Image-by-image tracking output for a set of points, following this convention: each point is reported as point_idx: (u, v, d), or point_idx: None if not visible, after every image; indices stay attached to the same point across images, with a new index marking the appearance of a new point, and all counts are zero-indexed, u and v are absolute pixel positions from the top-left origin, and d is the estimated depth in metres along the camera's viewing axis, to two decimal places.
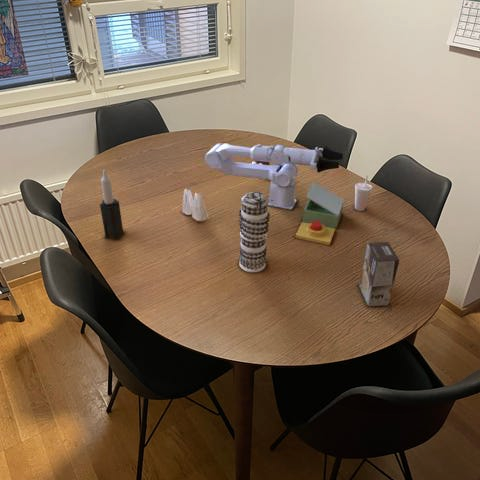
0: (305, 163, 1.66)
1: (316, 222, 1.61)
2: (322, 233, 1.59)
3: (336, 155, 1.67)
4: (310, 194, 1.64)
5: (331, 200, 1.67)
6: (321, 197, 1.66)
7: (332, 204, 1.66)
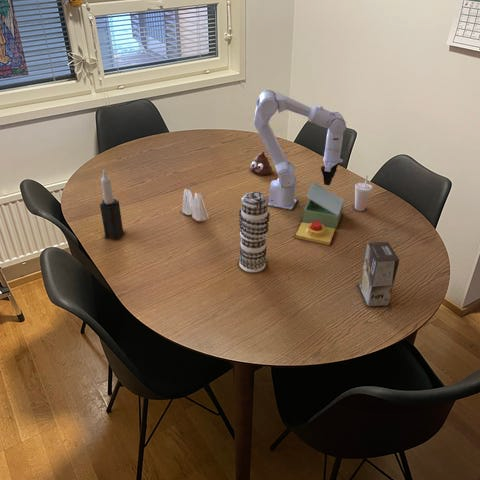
0: (328, 153, 1.66)
1: (316, 222, 1.61)
2: (322, 233, 1.59)
3: None
4: (310, 194, 1.64)
5: (331, 200, 1.67)
6: (321, 197, 1.66)
7: (332, 204, 1.66)
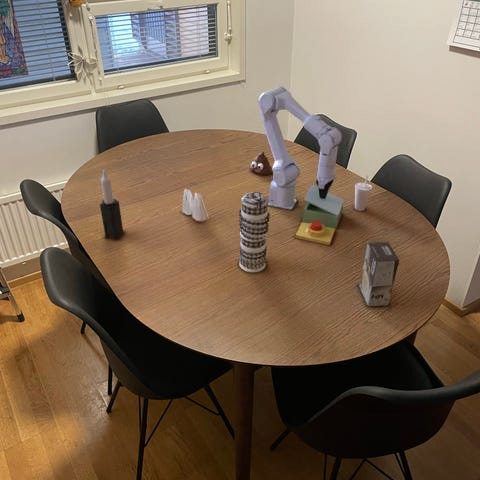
0: (321, 169, 1.59)
1: (316, 222, 1.61)
2: (322, 233, 1.59)
3: None
4: (308, 197, 1.65)
5: (330, 201, 1.68)
6: (320, 199, 1.67)
7: (331, 205, 1.66)
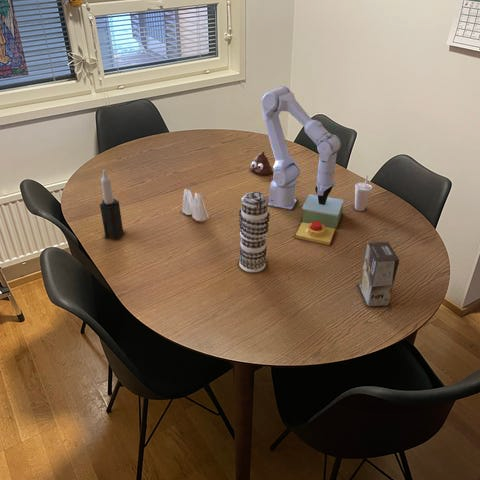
0: (320, 176, 1.61)
1: (316, 222, 1.61)
2: (322, 233, 1.59)
3: None
4: (305, 205, 1.67)
5: (329, 204, 1.69)
6: (318, 204, 1.68)
7: (330, 207, 1.67)
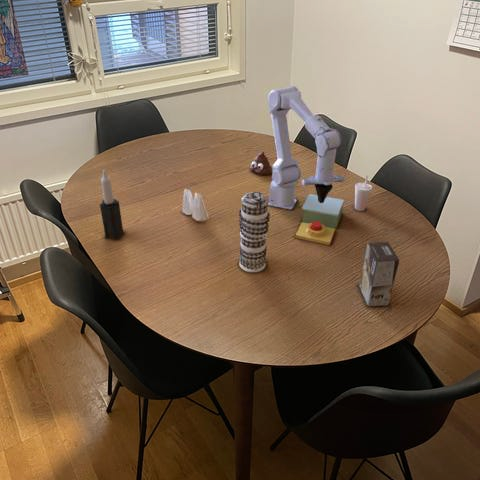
0: (316, 169, 1.55)
1: (316, 222, 1.61)
2: (322, 233, 1.59)
3: None
4: (305, 205, 1.67)
5: (329, 204, 1.69)
6: (318, 204, 1.68)
7: (330, 207, 1.67)
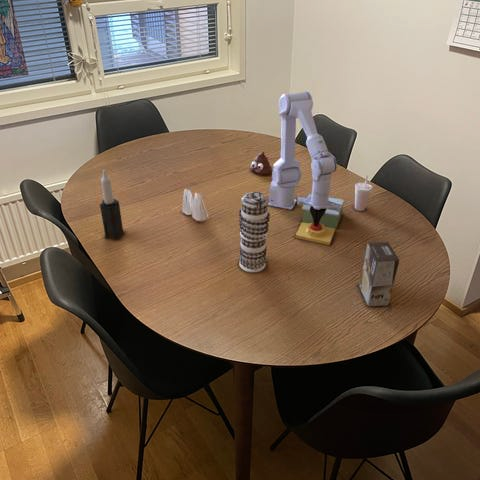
0: None
1: None
2: (322, 233, 1.59)
3: (317, 220, 1.59)
4: (305, 205, 1.67)
5: None
6: None
7: None
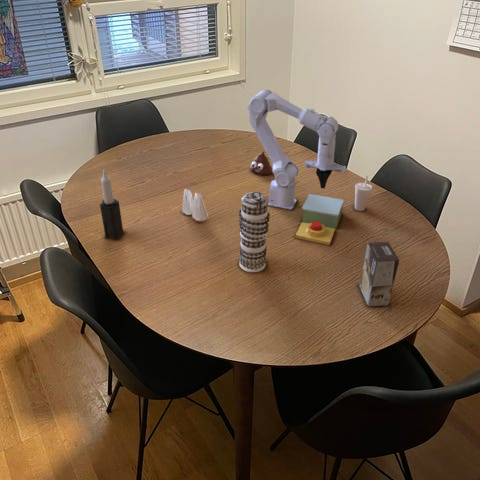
0: None
1: (316, 222, 1.61)
2: (322, 233, 1.59)
3: None
4: (305, 205, 1.67)
5: (329, 204, 1.69)
6: (318, 204, 1.68)
7: (330, 207, 1.67)
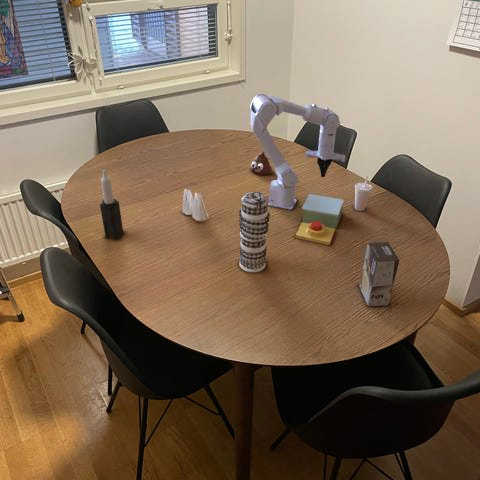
0: None
1: (316, 222, 1.61)
2: (322, 233, 1.59)
3: (323, 171, 1.76)
4: (305, 205, 1.67)
5: (329, 204, 1.69)
6: (318, 204, 1.68)
7: (330, 207, 1.67)
